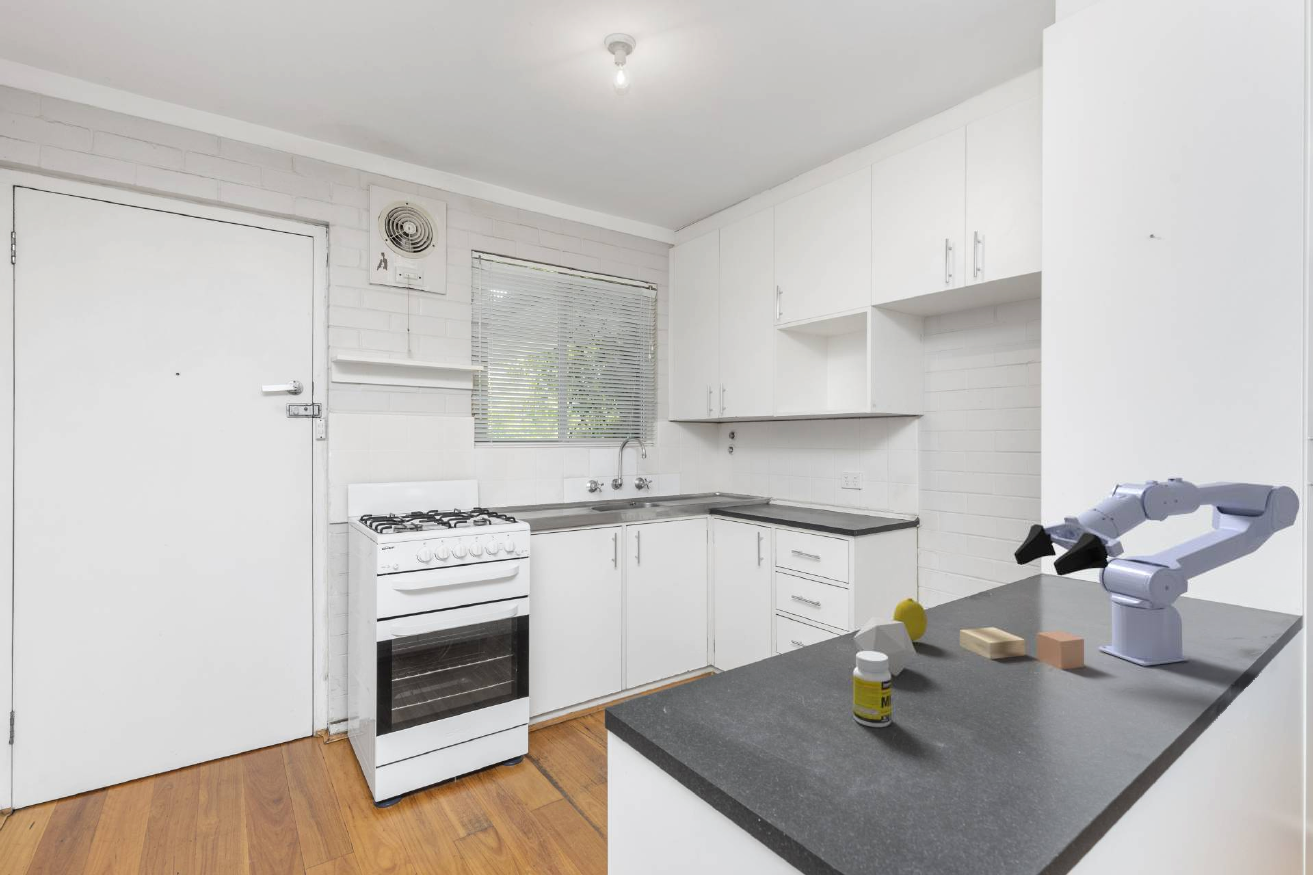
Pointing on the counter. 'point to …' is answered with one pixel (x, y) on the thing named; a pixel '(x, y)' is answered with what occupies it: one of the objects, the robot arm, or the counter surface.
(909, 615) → the lemon
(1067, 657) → the terracotta cube
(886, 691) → the supplement bottle
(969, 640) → the oak block
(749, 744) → the counter surface
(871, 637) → the die
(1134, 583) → the robot arm
